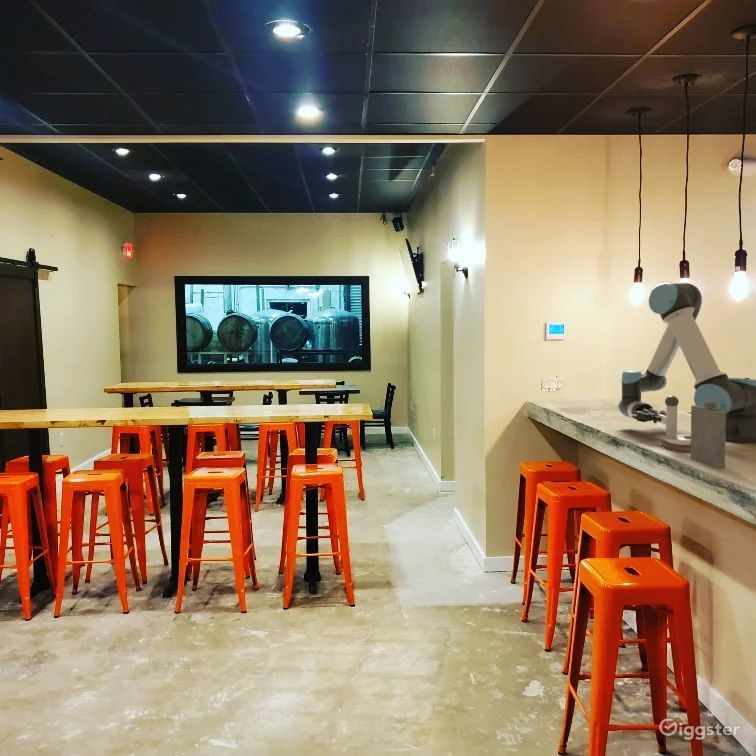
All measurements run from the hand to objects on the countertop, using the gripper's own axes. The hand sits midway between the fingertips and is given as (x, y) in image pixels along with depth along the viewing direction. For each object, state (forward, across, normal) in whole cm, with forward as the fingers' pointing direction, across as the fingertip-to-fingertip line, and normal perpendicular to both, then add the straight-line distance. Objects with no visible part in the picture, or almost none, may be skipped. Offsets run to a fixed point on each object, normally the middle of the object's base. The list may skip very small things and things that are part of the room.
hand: (667, 420), depth 228 cm
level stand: (+5, -6, -9) cm, 12 cm away
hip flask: (+29, 0, -9) cm, 30 cm away
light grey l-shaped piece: (+5, -5, -7) cm, 10 cm away
